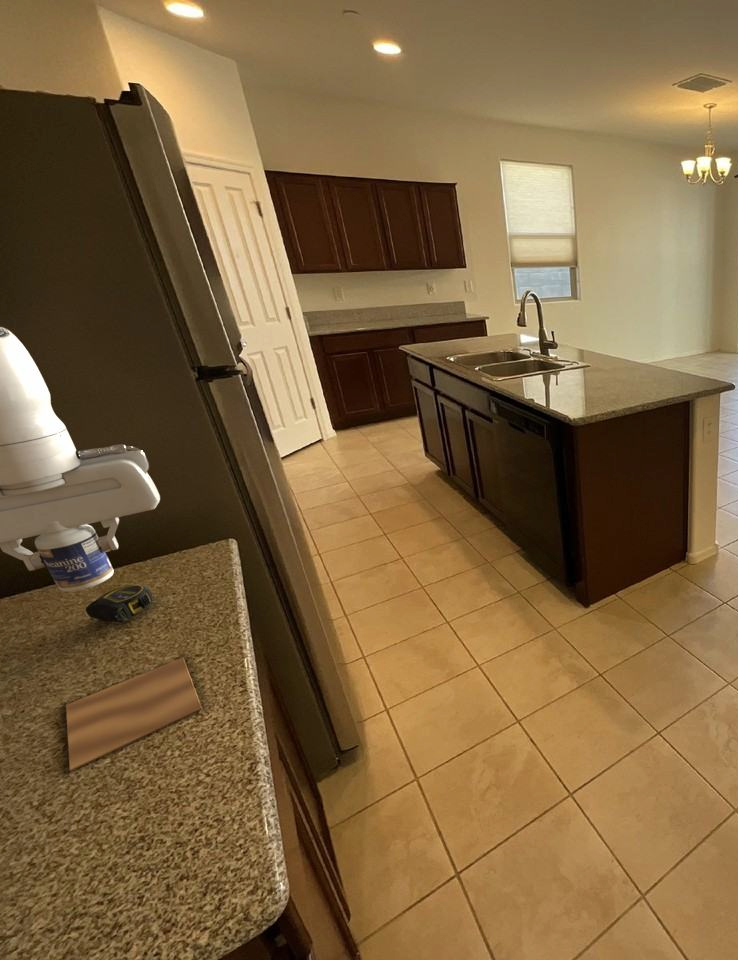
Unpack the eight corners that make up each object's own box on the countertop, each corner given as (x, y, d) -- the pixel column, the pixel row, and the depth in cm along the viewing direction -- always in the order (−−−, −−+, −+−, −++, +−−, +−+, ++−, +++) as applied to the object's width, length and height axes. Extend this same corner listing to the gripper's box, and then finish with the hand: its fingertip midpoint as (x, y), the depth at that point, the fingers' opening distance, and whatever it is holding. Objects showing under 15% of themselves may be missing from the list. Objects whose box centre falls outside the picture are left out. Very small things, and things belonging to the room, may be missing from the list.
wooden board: (66, 706, 68) (65, 704, 68) (183, 658, 76) (183, 657, 76) (70, 771, 59) (69, 769, 59) (202, 709, 67) (201, 708, 67)
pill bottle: (47, 595, 67) (10, 528, 63) (78, 573, 72) (45, 510, 68) (98, 589, 68) (64, 523, 64) (124, 567, 73) (95, 505, 69)
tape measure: (89, 623, 84) (79, 604, 82) (136, 598, 90) (127, 580, 88) (121, 629, 82) (111, 609, 81) (166, 603, 88) (158, 585, 87)
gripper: (140, 435, 71) (177, 525, 77) (-97, 473, 59) (-34, 576, 65) (138, 446, 67) (177, 541, 72) (-120, 489, 55) (-50, 599, 60)
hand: (75, 558), depth 68 cm, fingers closed on pill bottle, 5 cm apart
